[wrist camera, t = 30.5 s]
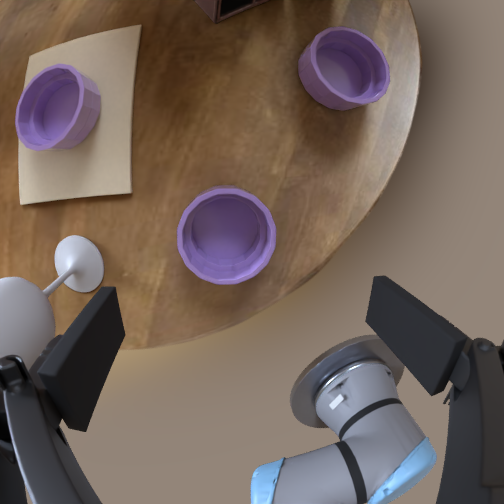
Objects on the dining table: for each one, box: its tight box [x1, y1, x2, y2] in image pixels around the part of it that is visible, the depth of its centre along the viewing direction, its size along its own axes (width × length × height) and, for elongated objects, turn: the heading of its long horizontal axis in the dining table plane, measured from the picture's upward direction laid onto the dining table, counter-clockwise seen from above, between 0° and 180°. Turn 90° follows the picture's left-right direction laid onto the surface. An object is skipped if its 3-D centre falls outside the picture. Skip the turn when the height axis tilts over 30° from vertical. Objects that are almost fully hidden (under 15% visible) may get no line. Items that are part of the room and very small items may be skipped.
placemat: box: [19, 25, 142, 205], centre depth 23 cm, size 20×16×1 cm
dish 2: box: [177, 185, 276, 285], centre depth 28 cm, size 9×9×5 cm
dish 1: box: [15, 63, 101, 151], centre depth 20 cm, size 9×9×5 cm
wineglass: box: [0, 235, 104, 387], centre depth 19 cm, size 8×8×21 cm
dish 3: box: [298, 26, 390, 111], centre depth 24 cm, size 9×9×5 cm
